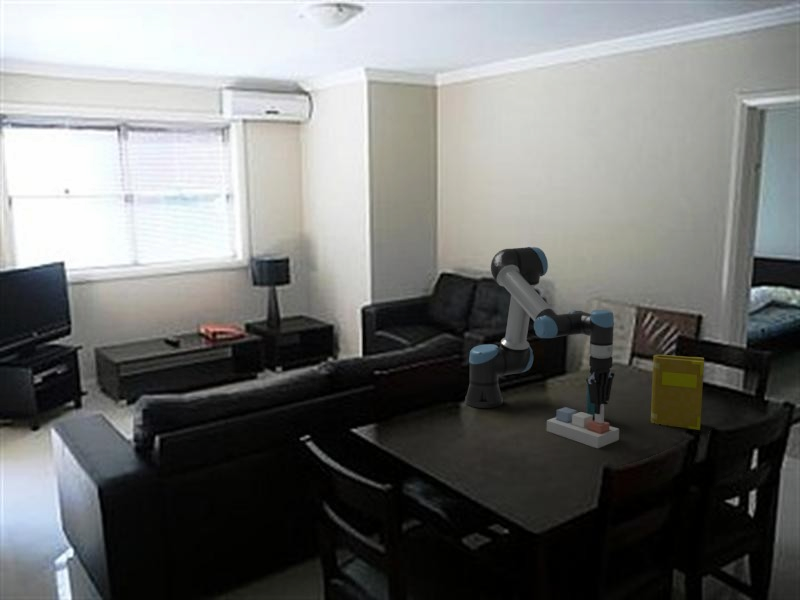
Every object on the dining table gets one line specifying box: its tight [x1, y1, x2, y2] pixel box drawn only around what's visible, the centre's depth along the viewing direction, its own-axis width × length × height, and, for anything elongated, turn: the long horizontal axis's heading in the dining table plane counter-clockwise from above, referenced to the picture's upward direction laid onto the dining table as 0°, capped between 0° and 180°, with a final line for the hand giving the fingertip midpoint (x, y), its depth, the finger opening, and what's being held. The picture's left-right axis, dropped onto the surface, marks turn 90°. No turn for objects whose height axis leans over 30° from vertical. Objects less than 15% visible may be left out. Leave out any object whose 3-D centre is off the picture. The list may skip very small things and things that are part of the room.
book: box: [650, 354, 705, 431], centre depth 252 cm, size 17×7×25 cm, turn 65°
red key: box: [588, 419, 611, 434], centre depth 238 cm, size 5×5×5 cm
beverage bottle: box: [585, 366, 595, 418], centre depth 260 cm, size 6×7×20 cm
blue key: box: [555, 406, 578, 423], centre depth 249 cm, size 5×5×5 cm
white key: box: [572, 411, 594, 429], centre depth 244 cm, size 5×5×5 cm
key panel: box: [546, 416, 620, 449], centre depth 244 cm, size 22×12×4 cm, turn 38°
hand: (599, 422), depth 238 cm, fingers closed
